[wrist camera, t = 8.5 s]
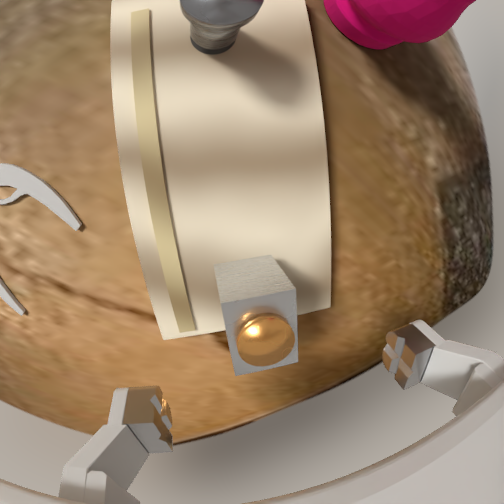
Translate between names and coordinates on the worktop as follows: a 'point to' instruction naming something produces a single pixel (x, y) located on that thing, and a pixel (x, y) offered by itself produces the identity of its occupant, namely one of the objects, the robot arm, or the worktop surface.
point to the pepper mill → (394, 20)
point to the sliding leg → (258, 313)
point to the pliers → (44, 194)
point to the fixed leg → (218, 20)
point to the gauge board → (220, 155)
